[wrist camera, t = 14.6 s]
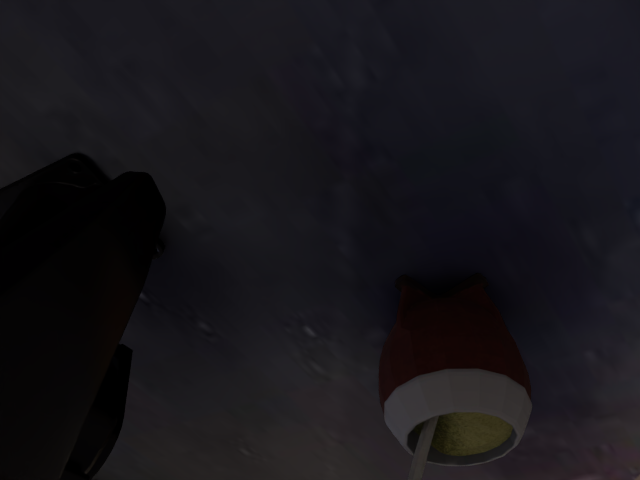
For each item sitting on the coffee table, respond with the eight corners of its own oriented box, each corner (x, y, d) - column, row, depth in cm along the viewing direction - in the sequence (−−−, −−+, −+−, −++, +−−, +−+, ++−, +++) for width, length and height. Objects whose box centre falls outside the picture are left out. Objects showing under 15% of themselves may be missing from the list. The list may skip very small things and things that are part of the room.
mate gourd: (529, 302, 28) (647, 643, 17) (421, 363, 32) (458, 670, 21) (438, 232, 25) (508, 589, 14) (333, 309, 29) (320, 633, 18)
